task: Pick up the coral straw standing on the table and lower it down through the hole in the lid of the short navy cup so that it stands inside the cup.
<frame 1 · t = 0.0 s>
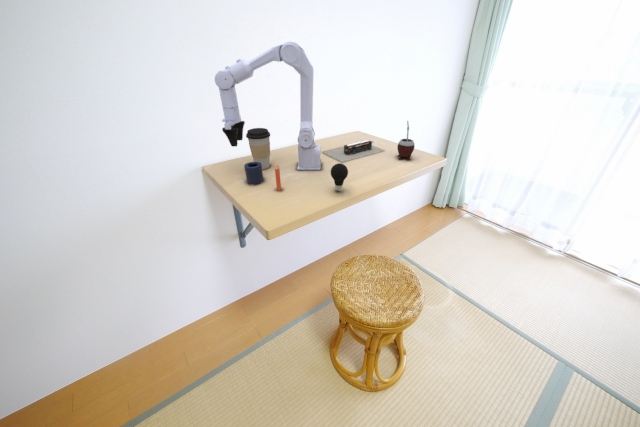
hand: (237, 143, 104), 10 cm above the table, tool pointing down, fingers open, 7 cm apart
travel cup: (255, 181, 98), on the table
coffee cup: (262, 166, 110), on the table
light bulb: (338, 191, 91), on the table
model train on plate: (353, 152, 124), on the table
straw: (279, 189, 92), on the table
mate gourd: (403, 158, 117), on the table
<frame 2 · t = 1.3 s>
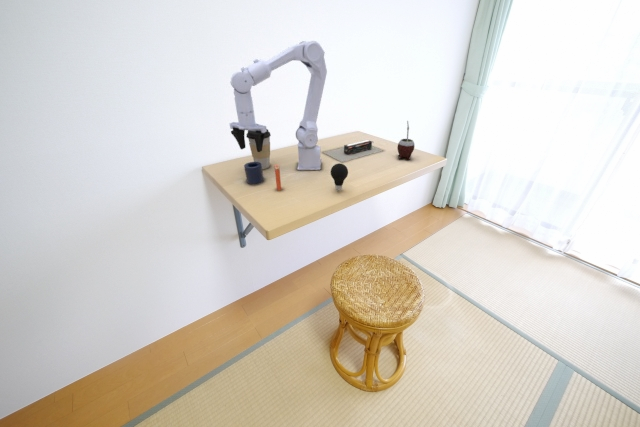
hand: (251, 149, 97), 10 cm above the table, tool pointing down, fingers open, 7 cm apart
nothing on the table moved.
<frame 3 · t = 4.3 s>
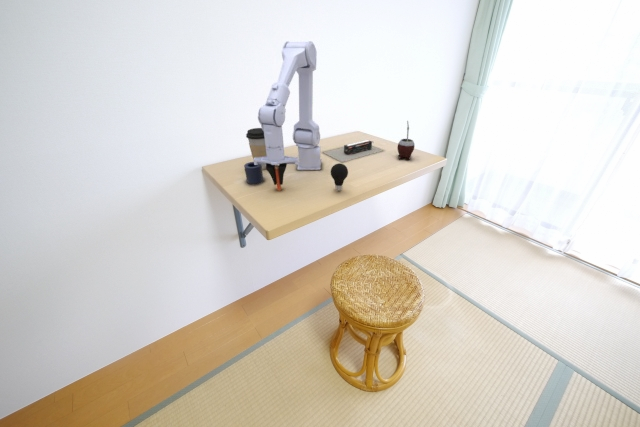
hand: (278, 183, 90), 2 cm above the table, tool pointing down, fingers closed on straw, 1 cm apart
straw: (279, 189, 92), on the table, touching gripper
everything else where it was.
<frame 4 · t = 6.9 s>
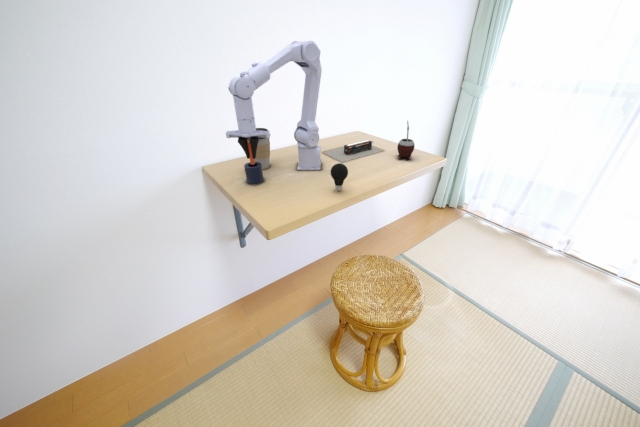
hand: (251, 157, 93), 9 cm above the table, tool pointing down, fingers closed on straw
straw: (252, 164, 94), point 7 cm above the table, touching gripper
everything else where it was.
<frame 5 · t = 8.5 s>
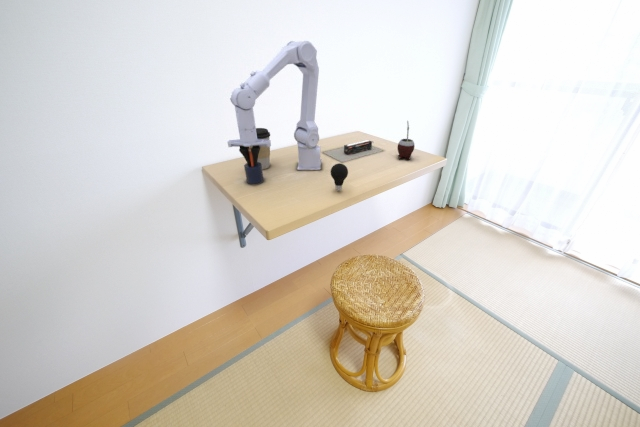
hand: (252, 165, 94), 6 cm above the table, tool pointing down, fingers closed, pressing on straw, travel cup
travel cup: (255, 181, 98), on the table, touching gripper
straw: (253, 172, 96), point 4 cm above the table, touching gripper
everything else where it was.
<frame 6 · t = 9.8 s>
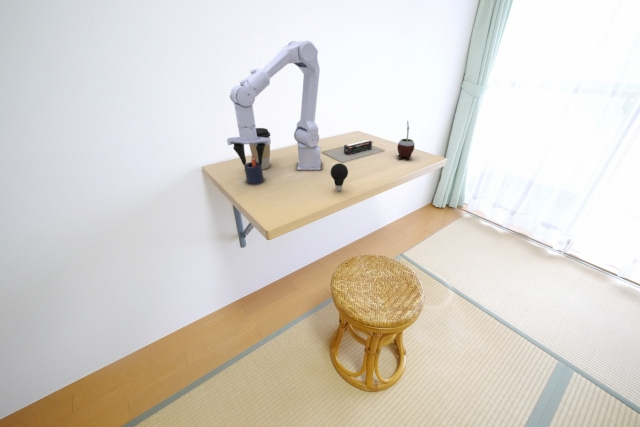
hand: (252, 163, 94), 7 cm above the table, tool pointing down, fingers open, 5 cm apart
travel cup: (255, 181, 98), on the table, touching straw
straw: (255, 179, 97), point 1 cm above the table, touching travel cup
everything else where it was.
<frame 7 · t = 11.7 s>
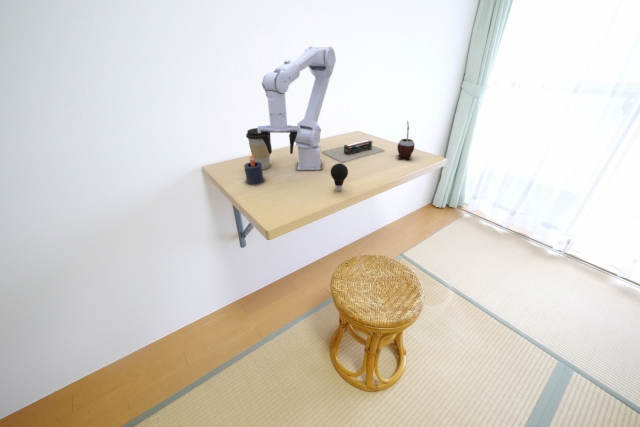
hand: (281, 152, 93), 10 cm above the table, tool pointing down, fingers open, 7 cm apart
nothing on the table moved.
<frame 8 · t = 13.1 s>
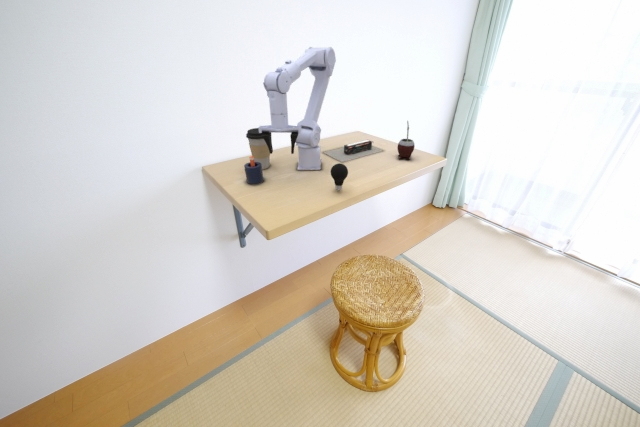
hand: (282, 152, 93), 10 cm above the table, tool pointing down, fingers open, 7 cm apart
nothing on the table moved.
at the end: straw 0.0 cm off-centre in the travel cup, point 0.5 cm above the travel cup's base; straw tilted 0°; travel cup tilted 0° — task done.
